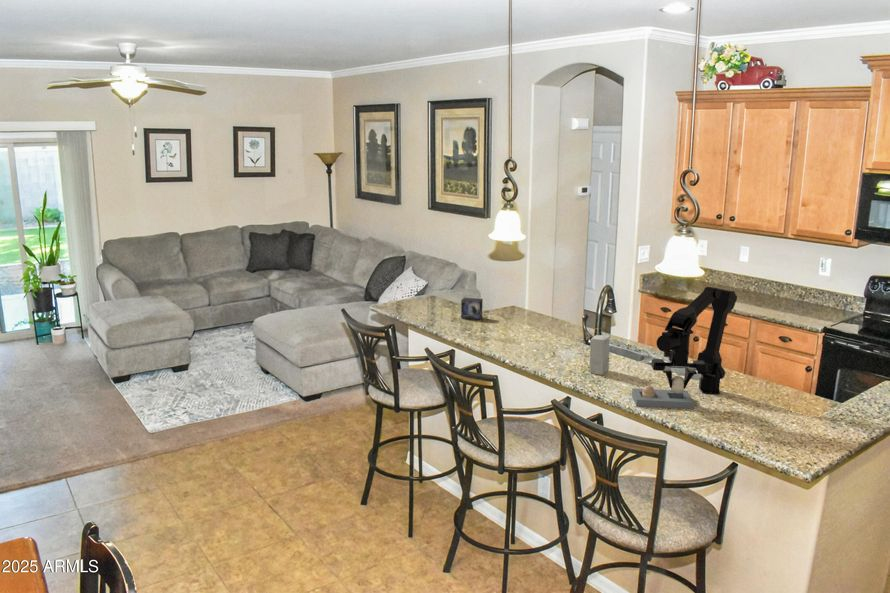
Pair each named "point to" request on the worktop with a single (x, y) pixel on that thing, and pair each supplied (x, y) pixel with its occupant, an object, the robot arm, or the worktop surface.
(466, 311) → the small box
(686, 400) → the egg carton
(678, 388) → the egg
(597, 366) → the skincare box
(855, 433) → the worktop surface
